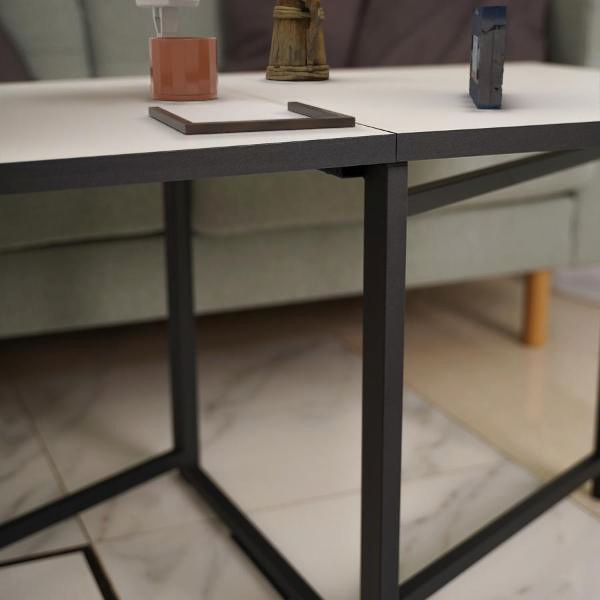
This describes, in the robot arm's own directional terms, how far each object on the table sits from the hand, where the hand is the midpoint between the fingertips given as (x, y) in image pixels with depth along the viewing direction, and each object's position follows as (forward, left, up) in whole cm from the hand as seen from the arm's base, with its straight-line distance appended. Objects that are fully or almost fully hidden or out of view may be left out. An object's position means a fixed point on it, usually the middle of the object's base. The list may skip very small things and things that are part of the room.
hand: (167, 47), depth 109 cm
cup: (0, -9, -5) cm, 10 cm away
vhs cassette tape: (+30, -23, -5) cm, 38 cm away
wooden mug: (+22, +11, -5) cm, 25 cm away
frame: (0, -32, -5) cm, 32 cm away
